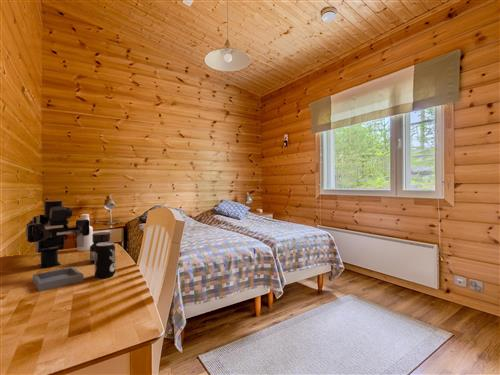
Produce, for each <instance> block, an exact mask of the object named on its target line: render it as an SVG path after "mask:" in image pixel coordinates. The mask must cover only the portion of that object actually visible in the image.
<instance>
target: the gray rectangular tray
mask: <svg viewBox="0 0 500 375" xmlns="http://www.w3.org/2000/svg"><path fill="white" fill-rule="evenodd" d="M81 282H82V283H83V282H84V274H83V273H82V272H81V271H79V270H78V269H77V268H76V267H74V266H71V267H64V268H61V269H55V270H50V271H45V272H40V273H34V274H32V283H33V284H34V286H35V287H36V290H38V292H44V291H47V290H51V289H56V288H60V287H64V286H70V285H73V284H78V283H81Z"/></svg>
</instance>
